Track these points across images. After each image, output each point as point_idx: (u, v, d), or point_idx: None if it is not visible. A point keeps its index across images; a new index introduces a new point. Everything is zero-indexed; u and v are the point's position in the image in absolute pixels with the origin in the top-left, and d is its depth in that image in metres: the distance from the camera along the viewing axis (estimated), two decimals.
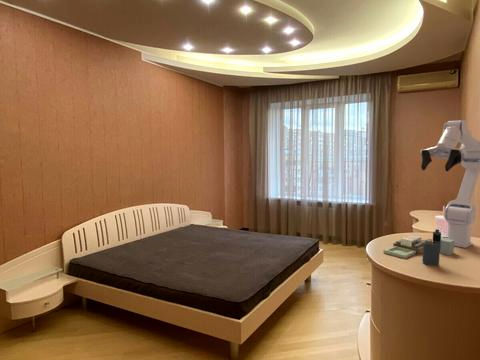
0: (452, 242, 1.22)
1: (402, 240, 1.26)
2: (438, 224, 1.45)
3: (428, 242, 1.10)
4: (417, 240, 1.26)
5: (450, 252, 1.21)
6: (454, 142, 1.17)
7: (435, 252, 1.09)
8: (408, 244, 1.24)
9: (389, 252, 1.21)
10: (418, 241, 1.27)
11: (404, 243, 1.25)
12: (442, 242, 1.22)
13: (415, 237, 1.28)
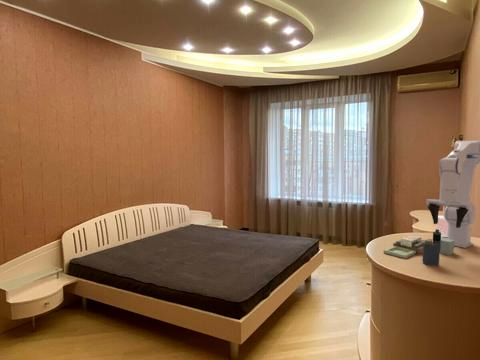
0: (452, 242, 1.22)
1: (402, 240, 1.26)
2: (438, 224, 1.45)
3: (428, 242, 1.10)
4: (417, 240, 1.26)
5: (450, 252, 1.21)
6: (455, 192, 1.19)
7: (435, 252, 1.09)
8: (408, 244, 1.24)
9: (389, 252, 1.21)
10: (418, 241, 1.27)
11: (404, 243, 1.25)
12: (442, 242, 1.22)
13: (415, 237, 1.28)
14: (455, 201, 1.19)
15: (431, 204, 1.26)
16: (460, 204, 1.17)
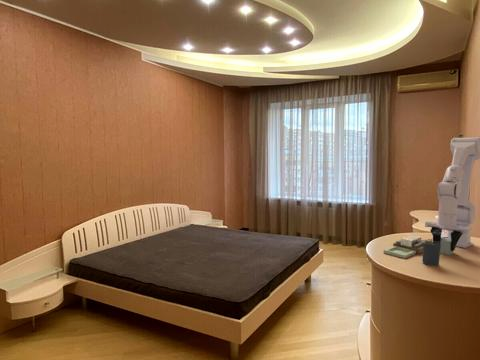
0: None
1: (402, 240, 1.26)
2: None
3: (428, 242, 1.10)
4: (417, 240, 1.26)
5: (450, 252, 1.21)
6: (453, 216, 1.19)
7: (435, 252, 1.09)
8: (408, 244, 1.24)
9: (389, 252, 1.21)
10: (418, 241, 1.27)
11: (404, 243, 1.25)
12: (442, 242, 1.22)
13: (415, 237, 1.28)
14: (453, 225, 1.20)
15: None
16: (458, 228, 1.18)
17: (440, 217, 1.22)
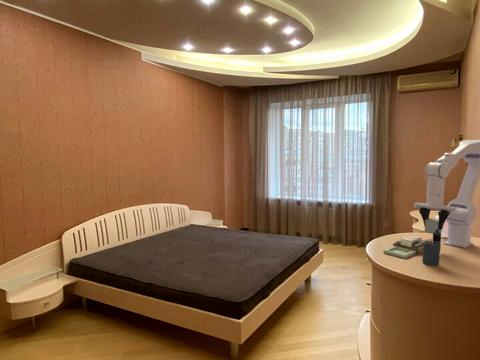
0: None
1: (402, 240, 1.26)
2: None
3: (428, 242, 1.10)
4: (417, 240, 1.26)
5: None
6: (441, 196, 1.23)
7: (435, 252, 1.09)
8: (408, 244, 1.24)
9: (389, 252, 1.21)
10: (418, 241, 1.27)
11: (404, 243, 1.25)
12: (430, 222, 1.25)
13: (415, 237, 1.28)
14: (441, 205, 1.23)
15: (418, 207, 1.30)
16: (446, 208, 1.21)
17: (428, 197, 1.25)
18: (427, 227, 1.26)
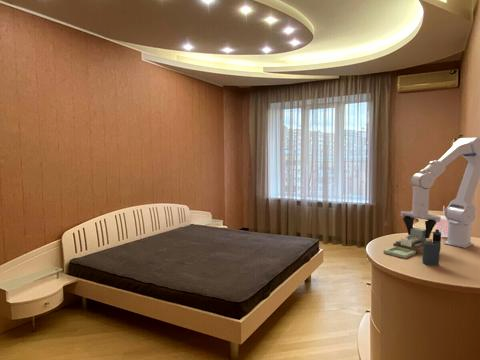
0: (424, 231, 1.29)
1: (402, 240, 1.26)
2: (438, 224, 1.45)
3: (428, 242, 1.10)
4: (417, 240, 1.26)
5: (422, 240, 1.29)
6: (426, 205, 1.27)
7: (435, 252, 1.09)
8: (408, 244, 1.24)
9: (389, 252, 1.21)
10: (418, 241, 1.27)
11: (404, 243, 1.25)
12: (415, 231, 1.30)
13: (415, 237, 1.28)
14: (426, 214, 1.28)
15: (405, 216, 1.34)
16: (430, 217, 1.26)
17: (413, 206, 1.30)
18: None
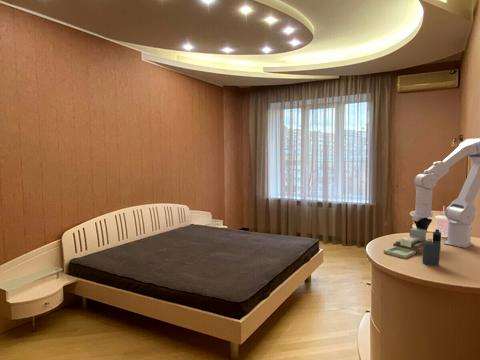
0: (423, 231, 1.29)
1: (402, 240, 1.26)
2: (438, 224, 1.45)
3: (428, 242, 1.10)
4: (416, 240, 1.26)
5: (421, 241, 1.28)
6: (417, 204, 1.31)
7: (435, 252, 1.09)
8: (408, 244, 1.24)
9: (389, 252, 1.21)
10: (417, 241, 1.26)
11: (404, 243, 1.25)
12: (414, 231, 1.29)
13: (414, 237, 1.27)
14: (417, 213, 1.31)
15: None
16: (413, 215, 1.31)
17: None
18: None
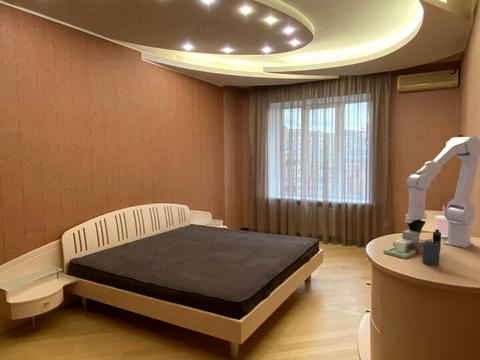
0: (417, 234, 1.25)
1: None
2: (438, 224, 1.45)
3: (428, 242, 1.10)
4: (409, 243, 1.22)
5: (414, 243, 1.25)
6: (410, 206, 1.28)
7: (435, 252, 1.09)
8: None
9: (389, 252, 1.21)
10: (410, 244, 1.23)
11: None
12: (407, 234, 1.26)
13: (407, 240, 1.24)
14: (411, 215, 1.28)
15: None
16: (406, 217, 1.27)
17: None
18: None
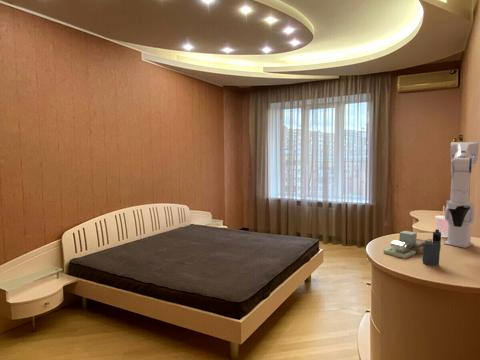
0: (414, 235, 1.24)
1: None
2: (438, 224, 1.45)
3: (428, 242, 1.10)
4: (406, 248, 1.21)
5: (412, 245, 1.23)
6: (453, 191, 1.19)
7: (435, 252, 1.09)
8: None
9: (389, 252, 1.21)
10: (407, 248, 1.21)
11: None
12: (404, 235, 1.24)
13: None
14: (454, 201, 1.19)
15: None
16: None
17: None
18: (401, 240, 1.25)
